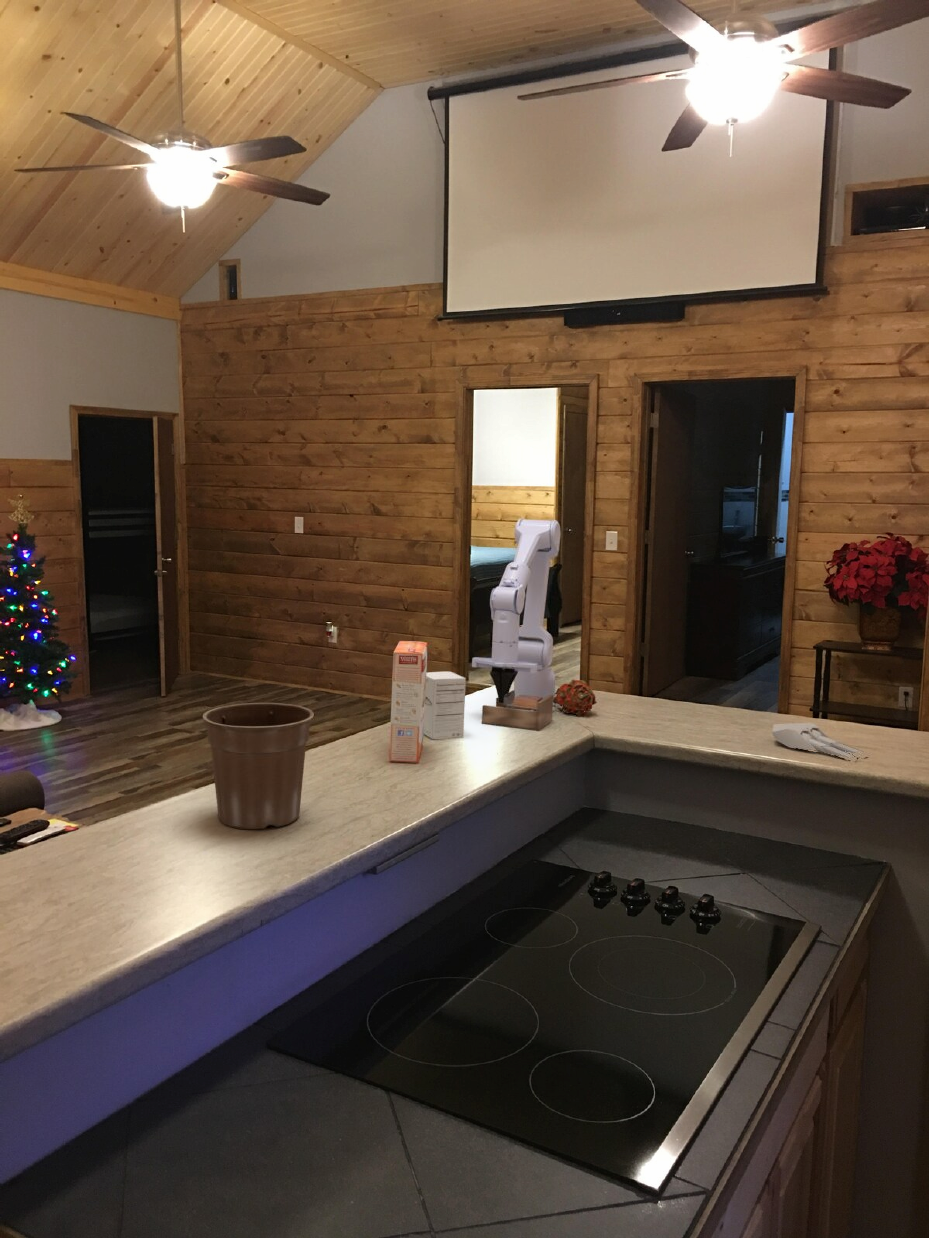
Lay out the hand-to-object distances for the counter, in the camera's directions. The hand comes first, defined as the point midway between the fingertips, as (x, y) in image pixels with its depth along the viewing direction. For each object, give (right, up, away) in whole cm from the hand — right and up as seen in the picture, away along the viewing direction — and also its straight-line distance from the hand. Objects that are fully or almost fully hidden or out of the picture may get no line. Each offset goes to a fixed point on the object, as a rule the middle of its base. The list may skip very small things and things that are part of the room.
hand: (502, 701), depth 221 cm
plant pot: (-40, -12, -69) cm, 81 cm away
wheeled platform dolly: (+5, -3, -2) cm, 6 cm away
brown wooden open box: (+3, -4, -1) cm, 5 cm away
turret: (+64, -9, -15) cm, 66 cm away
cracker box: (-19, -8, -30) cm, 36 cm away
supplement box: (-13, -6, -14) cm, 20 cm away
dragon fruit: (+17, -4, +11) cm, 21 cm away
